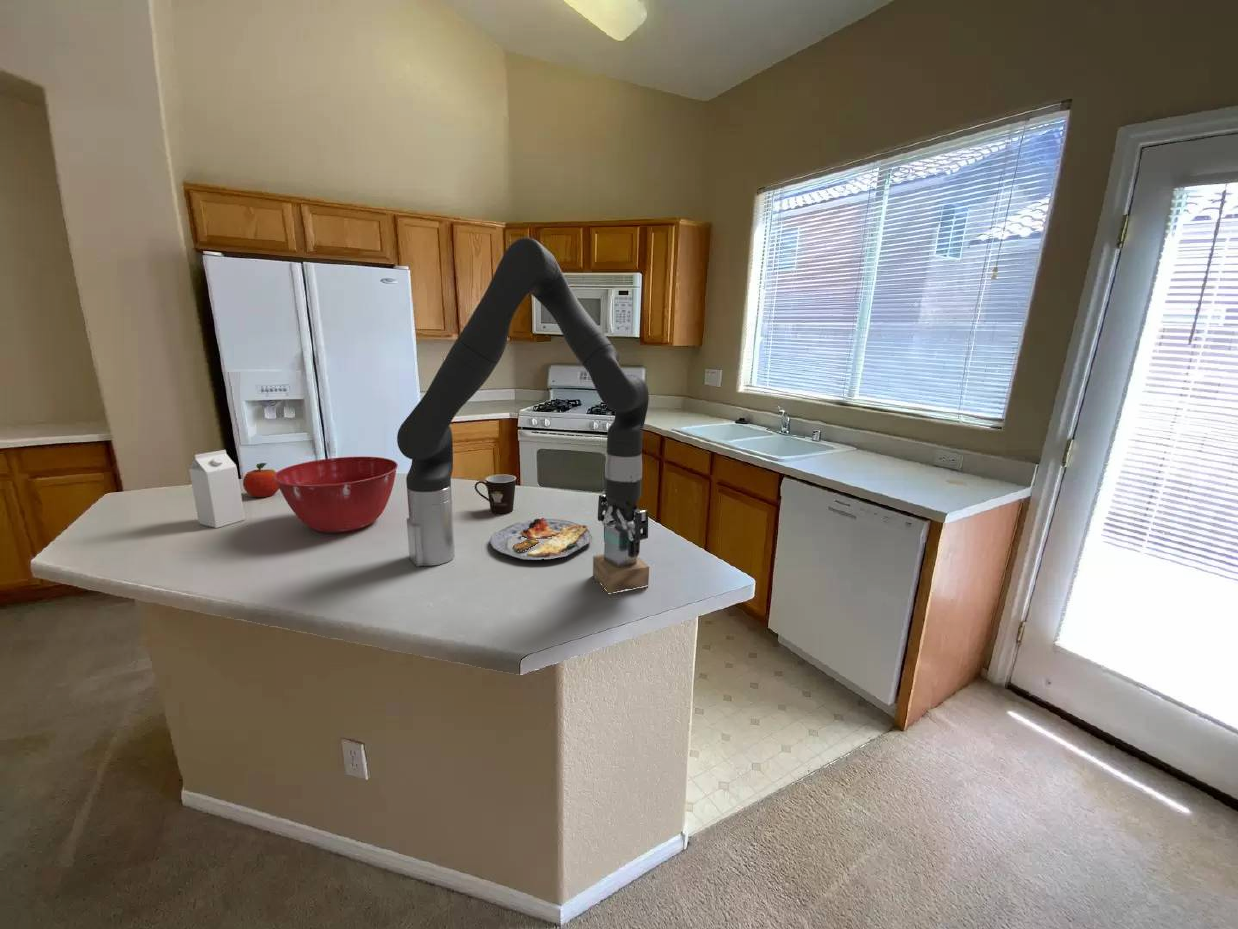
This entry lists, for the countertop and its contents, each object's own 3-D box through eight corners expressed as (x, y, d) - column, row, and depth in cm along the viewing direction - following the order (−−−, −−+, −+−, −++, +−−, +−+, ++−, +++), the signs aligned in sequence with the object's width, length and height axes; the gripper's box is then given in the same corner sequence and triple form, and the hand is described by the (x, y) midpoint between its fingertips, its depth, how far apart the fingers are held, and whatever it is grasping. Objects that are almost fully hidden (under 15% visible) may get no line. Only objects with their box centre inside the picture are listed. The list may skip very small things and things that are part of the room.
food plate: (538, 519, 142) (538, 507, 141) (608, 538, 131) (608, 525, 130) (471, 551, 122) (471, 538, 121) (547, 577, 110) (547, 563, 109)
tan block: (608, 596, 102) (609, 573, 101) (592, 577, 110) (593, 555, 109) (648, 588, 106) (649, 566, 104) (630, 570, 114) (630, 550, 112)
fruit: (238, 501, 150) (233, 468, 147) (253, 491, 159) (249, 460, 156) (274, 499, 152) (269, 467, 149) (287, 490, 161) (283, 460, 158)
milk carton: (198, 524, 131) (185, 453, 127) (228, 516, 138) (216, 448, 133) (216, 528, 129) (203, 456, 124) (245, 520, 135) (234, 451, 131)
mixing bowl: (292, 555, 115) (283, 490, 112) (272, 520, 136) (264, 464, 132) (417, 528, 133) (413, 472, 130) (383, 500, 154) (378, 451, 150)
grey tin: (617, 568, 103) (619, 531, 101) (603, 559, 107) (605, 523, 105) (636, 563, 106) (639, 527, 104) (622, 554, 110) (624, 519, 108)
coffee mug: (522, 510, 150) (522, 477, 147) (501, 518, 143) (500, 484, 140) (495, 502, 156) (494, 471, 153) (473, 509, 149) (472, 477, 146)
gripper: (588, 469, 105) (587, 541, 109) (630, 486, 94) (627, 566, 98) (617, 465, 110) (615, 534, 114) (660, 480, 99) (656, 557, 103)
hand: (620, 549), depth 106 cm, fingers open, 8 cm apart
